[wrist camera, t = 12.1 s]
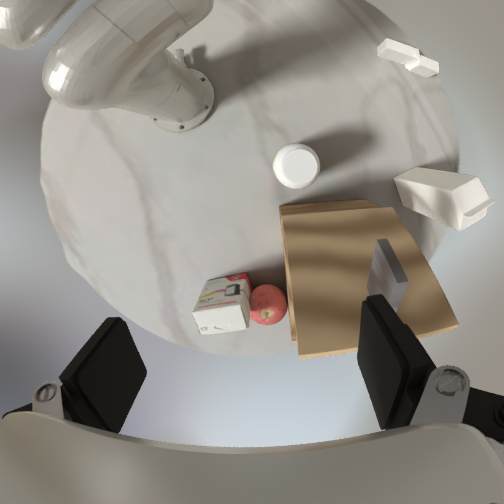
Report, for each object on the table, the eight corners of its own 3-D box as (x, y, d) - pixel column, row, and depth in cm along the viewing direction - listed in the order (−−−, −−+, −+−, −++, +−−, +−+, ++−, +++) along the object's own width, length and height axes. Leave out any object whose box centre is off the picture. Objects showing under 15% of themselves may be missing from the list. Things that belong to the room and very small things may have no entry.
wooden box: (278, 205, 48) (282, 220, 37) (364, 198, 47) (391, 211, 35) (287, 304, 54) (291, 340, 43) (363, 295, 53) (383, 328, 42)
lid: (282, 220, 37) (278, 175, 32) (391, 211, 35) (397, 168, 31) (298, 359, 22) (298, 313, 17) (455, 328, 20) (485, 281, 16)
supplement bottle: (310, 184, 46) (325, 193, 34) (272, 183, 47) (274, 192, 35) (310, 146, 44) (325, 142, 32) (272, 146, 45) (273, 141, 33)
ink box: (247, 271, 53) (242, 302, 41) (253, 294, 54) (250, 328, 43) (204, 280, 54) (189, 311, 43) (212, 302, 55) (200, 336, 44)
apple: (271, 316, 55) (271, 340, 48) (241, 298, 54) (237, 320, 47) (293, 290, 53) (297, 312, 46) (263, 270, 52) (262, 289, 45)
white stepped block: (361, 51, 37) (370, 41, 32) (391, 27, 34) (402, 16, 29) (414, 108, 40) (429, 104, 35) (440, 80, 37) (455, 75, 32)
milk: (392, 177, 45) (464, 194, 24) (416, 166, 44) (492, 178, 23) (402, 206, 46) (472, 239, 26) (425, 195, 45) (499, 221, 24)
